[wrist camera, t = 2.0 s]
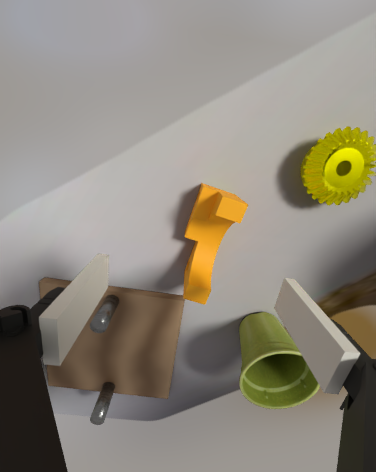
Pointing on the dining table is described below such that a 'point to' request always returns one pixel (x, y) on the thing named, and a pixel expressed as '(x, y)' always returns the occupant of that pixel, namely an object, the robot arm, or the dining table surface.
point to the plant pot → (272, 365)
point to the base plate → (124, 345)
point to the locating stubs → (100, 326)
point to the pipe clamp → (208, 237)
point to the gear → (339, 166)
